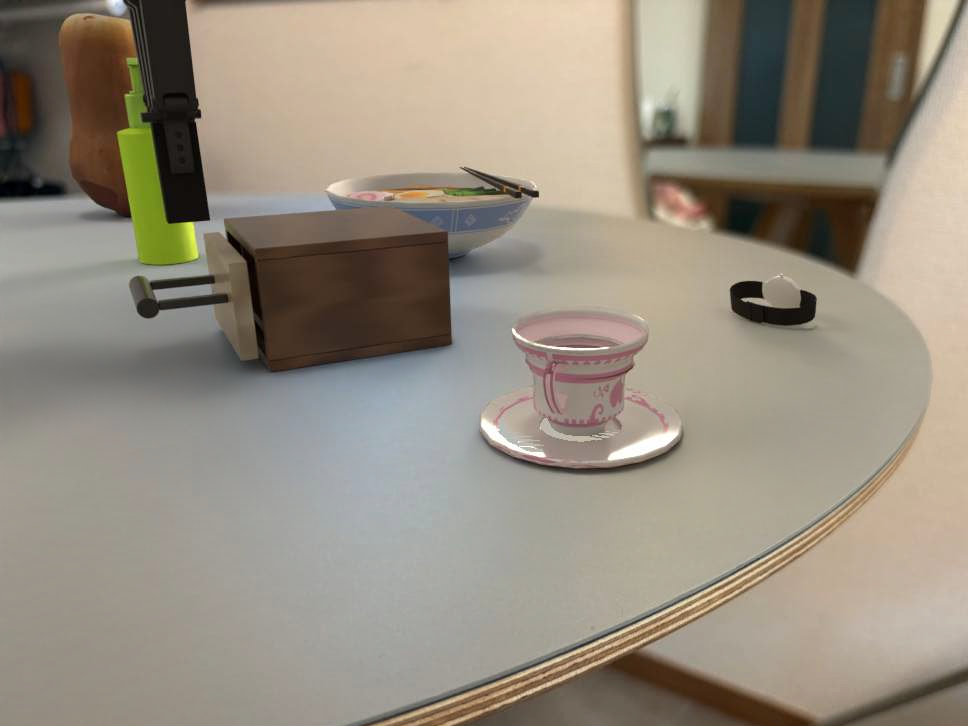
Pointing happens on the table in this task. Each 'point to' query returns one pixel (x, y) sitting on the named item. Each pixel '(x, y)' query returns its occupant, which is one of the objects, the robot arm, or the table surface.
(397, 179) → the ramen bowl
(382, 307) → the cabinet
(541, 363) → the teacup
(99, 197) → the butternut squash
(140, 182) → the soap dispenser
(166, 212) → the robot arm
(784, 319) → the watch
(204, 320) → the table surface
